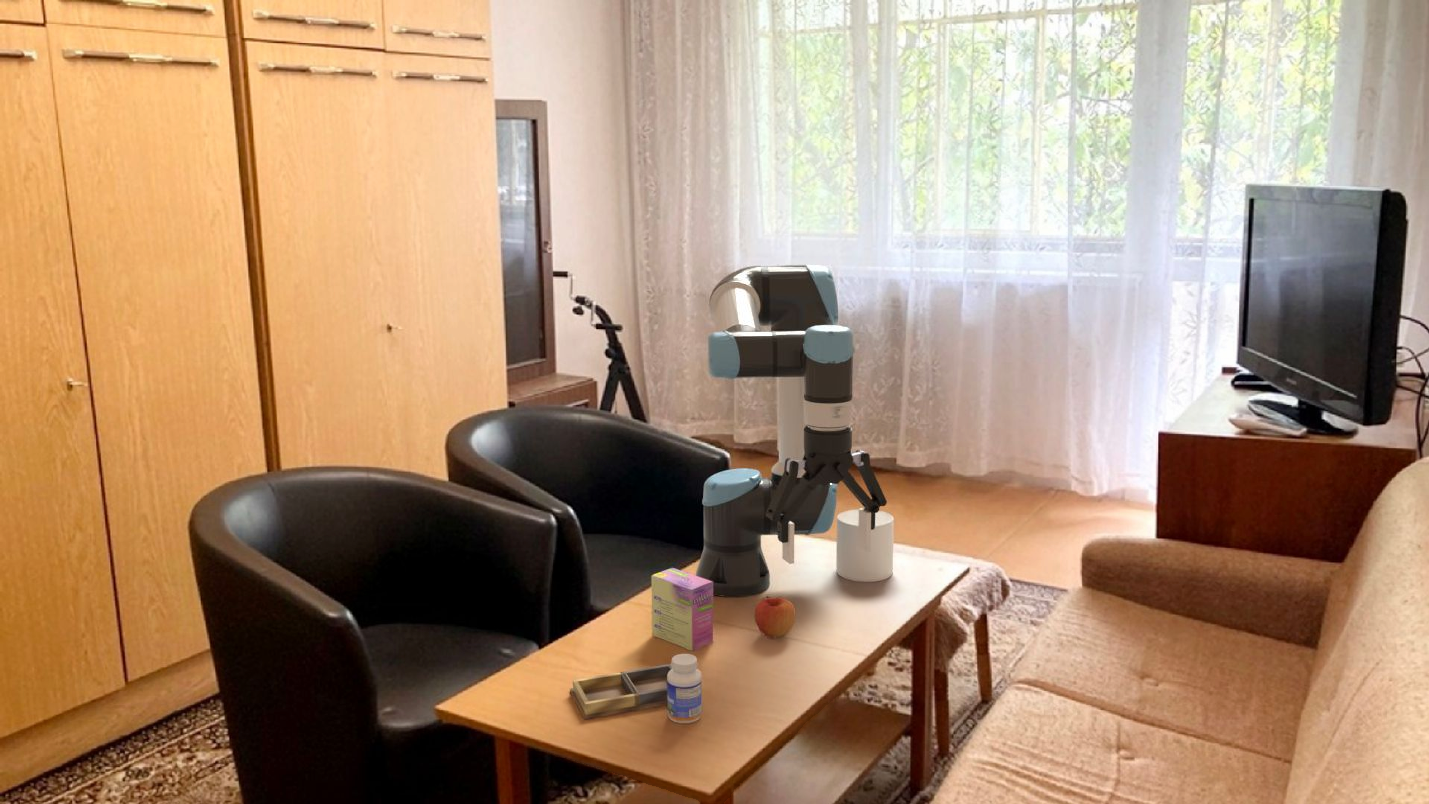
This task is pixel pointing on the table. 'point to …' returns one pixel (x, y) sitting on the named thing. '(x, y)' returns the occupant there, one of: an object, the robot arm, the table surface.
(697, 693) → the pill bottle
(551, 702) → the table surface
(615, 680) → the two-compartment tray
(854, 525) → the cup
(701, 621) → the box
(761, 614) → the apple
